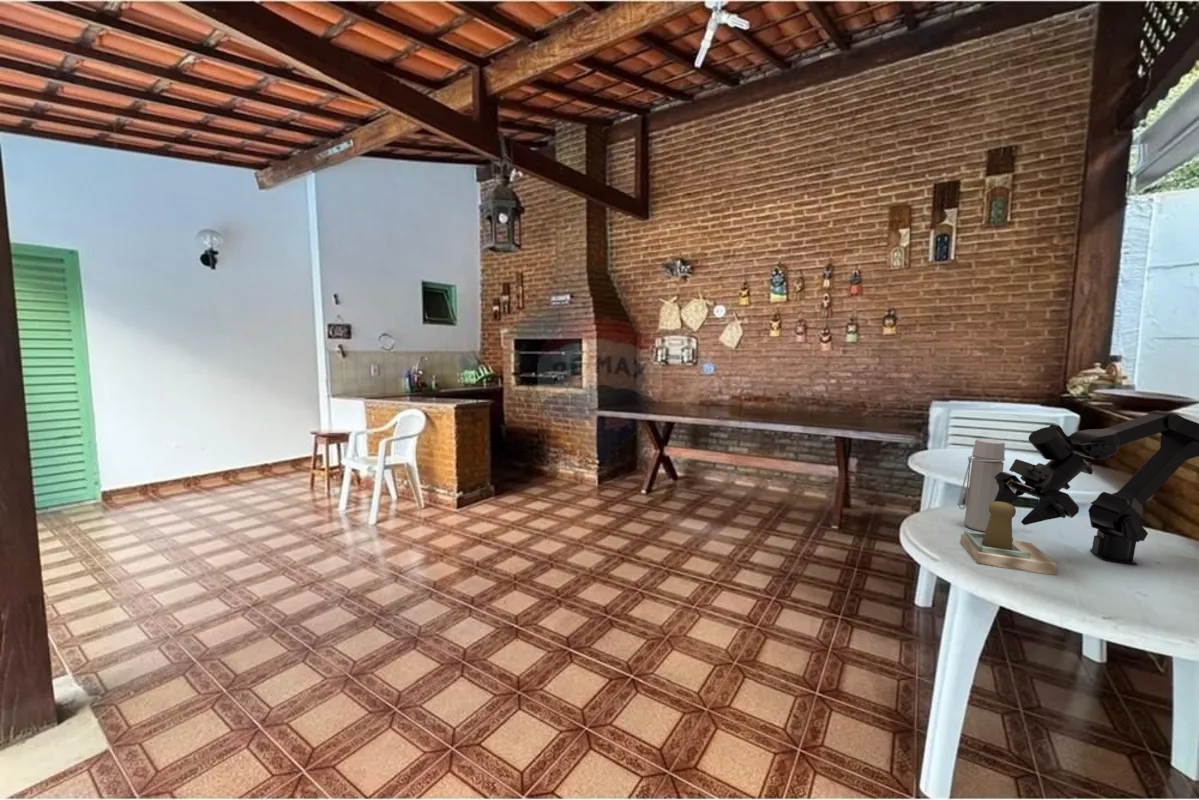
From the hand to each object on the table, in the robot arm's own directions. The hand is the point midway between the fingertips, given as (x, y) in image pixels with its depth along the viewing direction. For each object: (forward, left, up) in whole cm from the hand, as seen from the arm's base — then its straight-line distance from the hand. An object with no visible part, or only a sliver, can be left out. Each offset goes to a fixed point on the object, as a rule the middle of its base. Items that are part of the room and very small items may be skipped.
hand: (1006, 516), depth 125 cm
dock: (-1, +1, -10) cm, 10 cm away
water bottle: (-1, -20, -10) cm, 23 cm away
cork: (+1, +1, -8) cm, 8 cm away
